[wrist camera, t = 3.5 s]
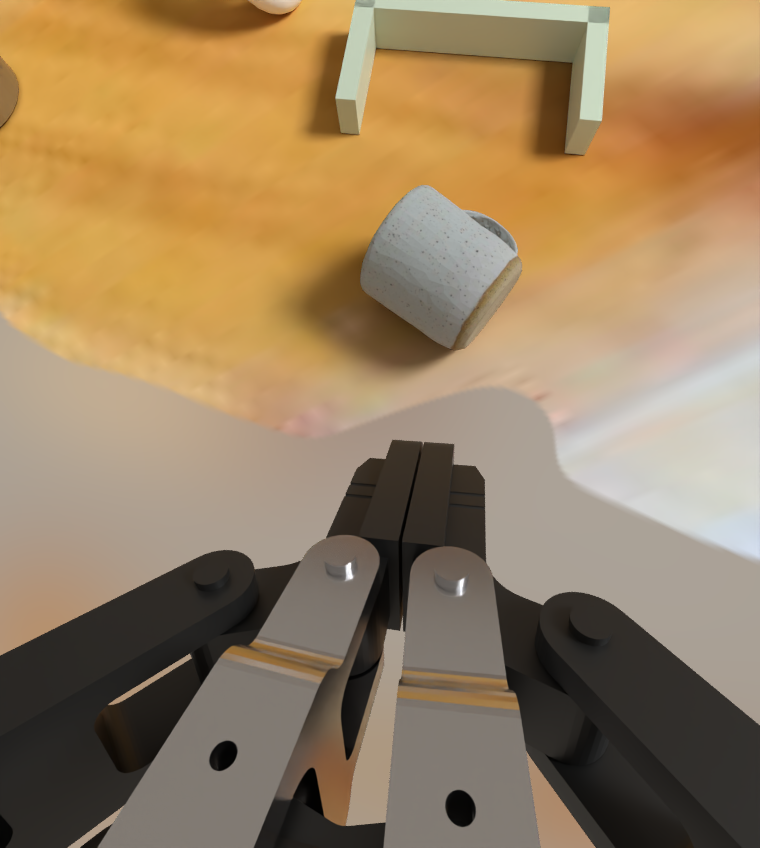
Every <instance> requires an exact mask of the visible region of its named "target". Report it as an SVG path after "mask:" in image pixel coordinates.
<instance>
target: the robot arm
mask: <svg viewBox="0 0 760 848" xmlns="http://www.w3.org/2000/svg"><path fill="white" fill-rule="evenodd" d="M18 93H19V88H18V81H17V78H16V75H15V74H14V72H13V71H12V69H11V68H10V67H9V66H8V64H7V63H6V62H5V61H4V60H3V59H2V58H1V57H0V127H1V126H2V125H3V124H4V123H5V122H6V121H7V119H8V118H9V116H10V115H11V113H12V112H13V110H14V108H15V105H16V103H17V99H18ZM453 464H454V444H445V443H430V442H424V445H423V443H422V442H417V441H402V440H392V442H391V445H390V448H389V451H388V454H387V456H386V459H376V458H370V459H368V460H367V461H366V462H365V463H363V464H362V465H361V466H360V467H358V468H357V470H356V472H355V474H354V476H353V478H352V481H351V485H350V486H349V487H348V490H347V492H346V496H345V497H344V499H343V501H342V503H341V505H340V508H339V510H338V512H337V515H336V517H335V519H334V521H333V523H332V526H331V528H330V530H329V532H328V535H327V537H326V539H323V540H321V541H319V542H318V543H316V544H315V545H313V546H312V547H311V548H310V549H309V550H308V551H307V553H306V554H305V556H304V557H303V559H302V560H301V561H299V562H296V563H293V564H289V565H284V566H277V567H270V568H262V569H254V566H253V563H252V561H251V559H250V558H249V557H247V556H246V555H244V554H243V553H240V552H237V551H232V550H223V551H216V552H211V553H208V554H205V555H203V556H200V557H198V558H196V559H194V560H192V561H190V562H188V563H186V564H184V565H182V566H180V567H178V568H176V569H174V570H172V571H170V572H168V573H166V574H164V575H161V576H160V577H158V578H155V579H153V580H152V581H150V582H148V583H145V584H144V585H141V586H139V587H137V588H136V589H133V590H131V591H129V592H127V593H125V594H123V595H121V596H119V597H117V598H115V599H113V600H111V601H110V602H107V603H105V604H103V605H101V606H99V607H97V608H95V609H93V610H91V611H89V612H87V613H85V614H83V615H81V616H79V617H77V618H75V619H73V620H71V621H69V622H67V623H65V624H63V625H61V626H59V627H57V628H55V629H53V630H51V631H49V632H47V633H45V634H43V635H41V636H39V637H37V638H35V639H33V640H31V641H29V642H27V643H25V644H23V645H21V646H19V647H17V648H15V649H13V650H11V651H9V652H7V653H5V654H3V655H1V656H0V848H67V847H68V846H70V845H71V844H73V843H74V842H75V841H77V840H78V839H79V838H81V837H82V836H83V835H85V834H86V833H87V832H89V831H90V830H91V829H93V828H94V827H96V826H97V825H98V824H99V823H101V822H102V821H104V820H105V819H106V818H108V817H109V816H110V815H112V814H113V813H114V812H116V811H117V810H118V809H120V808H121V807H122V806H124V807H123V809H122V810H121V812H120V813H119V815H118V816H117V818H116V820H115V821H114V823H113V824H111V825H110V826H108V827H107V828H105V829H104V830H102V831H101V832H100V833H98V834H97V835H96V836H94V837H93V838H92V839H90V840H89V841H88V842H87V843H85V844H84V845H83V846H81V847H80V848H541V847H540V841H539V834H538V827H537V820H536V814H535V807H534V801H533V794H532V788H531V782H530V775H529V767H528V761H527V754H526V751H527V752H528V754H529V756H530V757H531V759H532V760H533V761H534V763H535V764H536V766H537V767H538V768H539V770H540V771H541V772H542V774H543V775H544V777H545V778H546V779H547V781H548V782H549V784H550V785H551V786H552V788H553V789H554V791H555V792H556V793H557V795H558V796H559V797H560V799H561V800H562V802H563V803H564V804H565V806H566V807H567V809H568V810H569V811H570V813H571V814H572V815H573V817H574V818H575V819H576V821H577V822H578V824H579V825H580V826H581V828H582V829H583V830H584V832H585V833H586V835H587V836H588V838H589V839H590V840H591V842H592V843H593V844H594V846H595V847H596V848H760V725H758V724H757V723H756V722H755V721H754V720H752V719H751V718H750V717H749V716H748V715H746V714H745V713H744V712H743V711H742V710H740V709H739V708H738V707H737V706H735V705H734V704H733V703H732V702H731V701H729V700H728V699H727V698H726V697H725V696H723V695H722V694H721V693H720V692H719V691H717V690H716V689H715V688H714V687H713V686H711V685H710V684H709V683H708V682H707V681H705V680H704V679H703V678H702V677H701V676H699V675H698V674H697V673H696V672H695V671H693V670H692V669H691V668H690V667H688V666H687V665H686V664H685V663H684V662H682V661H681V660H680V659H679V658H678V657H676V656H675V655H674V654H673V653H672V652H670V651H669V650H668V649H667V648H666V647H664V646H663V645H662V644H661V643H659V642H658V641H657V640H656V639H655V638H654V637H652V636H651V635H650V634H649V633H648V632H646V631H645V630H644V629H643V628H641V627H640V626H639V625H638V624H637V623H635V622H634V621H633V620H632V619H631V618H629V617H628V616H627V615H625V613H623V612H622V611H621V610H619V609H618V608H617V607H615V606H614V605H612V604H611V603H609V602H607V601H605V600H603V599H601V598H599V597H596V596H593V595H590V594H585V593H579V592H567V593H562V594H558V595H555V596H553V597H551V598H550V599H548V600H547V601H546V602H545V603H544V605H541V604H538V603H536V602H533V601H530V600H528V599H525V598H523V597H520V596H519V595H516V594H514V593H512V592H511V591H509V590H507V589H506V588H505V587H503V586H502V585H501V584H500V583H499V582H498V581H497V580H496V579H495V578H494V577H493V575H492V573H491V570H490V568H489V566H488V565H487V563H486V547H485V546H486V543H485V480H484V478H483V477H482V475H481V474H480V472H479V471H478V470H477V468H476V467H475V466H465V465H453ZM402 617H403V631H405V643H404V655H403V667H402V668H403V669H402V677H401V679H400V680H399V685H398V692H397V703H396V714H395V724H394V736H393V747H392V758H391V770H390V781H389V792H388V803H387V814H386V823H376V824H365V825H356V826H346V821H347V816H348V811H349V805H350V797H351V787H352V780H353V775H354V771H355V766H356V763H357V759H358V756H359V752H360V748H361V745H362V742H363V738H364V735H365V731H366V728H367V724H368V721H369V717H370V714H371V710H372V706H373V703H374V700H375V696H376V692H377V689H378V685H379V682H380V679H381V675H382V672H383V667H384V640H385V636H386V631H387V629H392V630H399V631H400V628H401V621H402ZM188 654H190V655H191V657H192V659H190V660H189V661H187V662H185V663H184V664H182V665H180V666H179V667H177V668H175V669H174V670H172V671H171V672H169V673H168V674H166V675H164V676H163V677H161V678H160V679H158V680H156V681H155V682H153V683H151V684H150V685H148V686H147V687H145V688H143V689H142V690H140V691H139V692H137V693H135V694H134V695H132V696H131V697H129V698H127V699H126V700H124V701H122V702H120V703H117V704H114V705H108V704H109V703H111V702H112V701H113V700H115V699H116V698H118V697H120V696H121V695H123V694H125V693H126V692H128V691H129V690H131V689H132V688H134V687H136V686H138V685H139V684H141V683H142V682H144V681H146V680H147V679H149V678H151V677H152V676H154V675H155V674H157V673H159V672H160V671H162V670H163V669H165V668H167V667H168V666H170V665H172V664H173V663H175V662H177V661H178V660H180V659H181V658H183V657H185V656H186V655H188Z"/></svg>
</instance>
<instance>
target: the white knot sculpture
mask: <svg viewBox="0 0 760 848" xmlns="http://www.w3.org/2000/svg"><path fill="white" fill-rule="evenodd" d="M248 1H249V2H251V3H252V4H253V5H255V6H256V7H257V8H259V9H261V10H263V11H265V12H268V13H270V14H284V13H288V12H291V11H293V10H294V9H295V8H296V7H297V6H299V4H300V2H301V1H302V0H248Z"/></svg>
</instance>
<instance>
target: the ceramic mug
mask: <svg viewBox="0 0 760 848" xmlns="http://www.w3.org/2000/svg"><path fill="white" fill-rule="evenodd" d="M517 252H518V248H517V245H516V242H515V241H514V239H513V237H512V236H511V234H510V233H509V232H508V231H507V230H506V229H505V228H504V227H503V226H502V225H500V224H499V223H498V222H497V221H495V220H494V219H492V218H490V217H488V216H486V215H484V214H481V213H478V212H475V211H470V210H461V209H460V208H458V207H457V206H456V205H455V204H453V203H452V202H451V201H450V200H448V199H447V198H446V197H444V196H443V195H442V194H440V193H439V192H438V191H436V190H435V189H434V188H432V187H430V186H428V185H421V186H418V187H416V188H415V189H413V190H411V191H410V192H408V193H407V194H406V195H405V196H404V197H403V198H402V199H401V200H400V201H399V202H398V203H397V204H396V205H395V206H394V207H393V209H392V210H391V212H390V213H389V214H388V216H387V217H386V218H385V219H384V221H383V222H382V224H381V225H380V227H379V228H378V230H377V231H376V233H375V234H374V236H373V238H372V240H371V242H370V245H369V247H368V250H367V253H366V255H365V257H364V260H363V263H362V269H361V276H360V284H361V287H362V289H363V291H364V292H365V293H367V294H368V295H369V296H371V297H372V298H374V299H375V300H377V301H378V302H380V303H381V304H382V305H384V306H385V307H387V308H388V309H389V310H391V311H392V312H394V313H395V314H397V315H398V316H400V317H401V318H403V319H404V320H405V321H407V322H408V323H410V324H411V325H413V326H414V327H416V328H417V329H419V330H420V331H421V332H423V333H424V334H425V335H427V336H428V337H429V338H431V339H432V340H434V341H435V342H437V343H439V344H441V345H443V346H445V347H447V348H449V349H452V350H460V349H464V348H466V347H467V346H468V345H469V344H470V343H471V342H472V341H473V340H474V338H475V337H476V336H477V335H478V334H479V333H480V331H481V330H482V329H483V328H484V326H485V325H486V324H487V322H488V321H489V320H490V319H491V317H492V316H493V315H494V313H495V312H496V311H497V309H498V308H499V307H500V305H501V304H502V303H503V301H504V300H505V298H506V297H507V295H508V294H509V292H510V291H511V289H512V288H513V286H514V285H515V283H516V282H517V280H518V278H519V276H520V274H521V272H522V262H521V259H520V258H519V257H518V255H517Z"/></svg>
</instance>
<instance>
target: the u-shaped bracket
mask: <svg viewBox="0 0 760 848" xmlns="http://www.w3.org/2000/svg"><path fill="white" fill-rule="evenodd" d="M609 13H610V7H596V6H581V5H565V4H550V3H534V2H519V1H503V0H356V2H355V7H354V11H353V16H352V21H351V26H350V30H349V35H348V40H347V45H346V50H345V54H344V59H343V64H342V69H341V74H340V78H339V83H338V88H337V93H336V97H335V100H336V106H337V112H338V118H339V124H340V130H341V133H348V134H360V129H361V124H362V118H363V113H364V108H365V103H366V98H367V93H368V87H369V82H370V77H371V72H372V67H373V62H374V56H375V51H376V48H383V49H396V50H410V51H423V52H436V53H450V54H463V55H477V56H490V57H503V58H517V59H530V60H543V61H557V62H570V63H573V64H572V75H571V86H570V97H569V109H568V120H567V131H566V142H565V153H568V154H579V155H585V153H586V151H587V149H588V147H589V145H590V143H591V141H592V139H593V137H594V135H595V133H596V131H597V129H598V127H599V125H600V123H601V121H602V110H603V96H604V82H605V68H606V54H607V41H608V27H609Z"/></svg>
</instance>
